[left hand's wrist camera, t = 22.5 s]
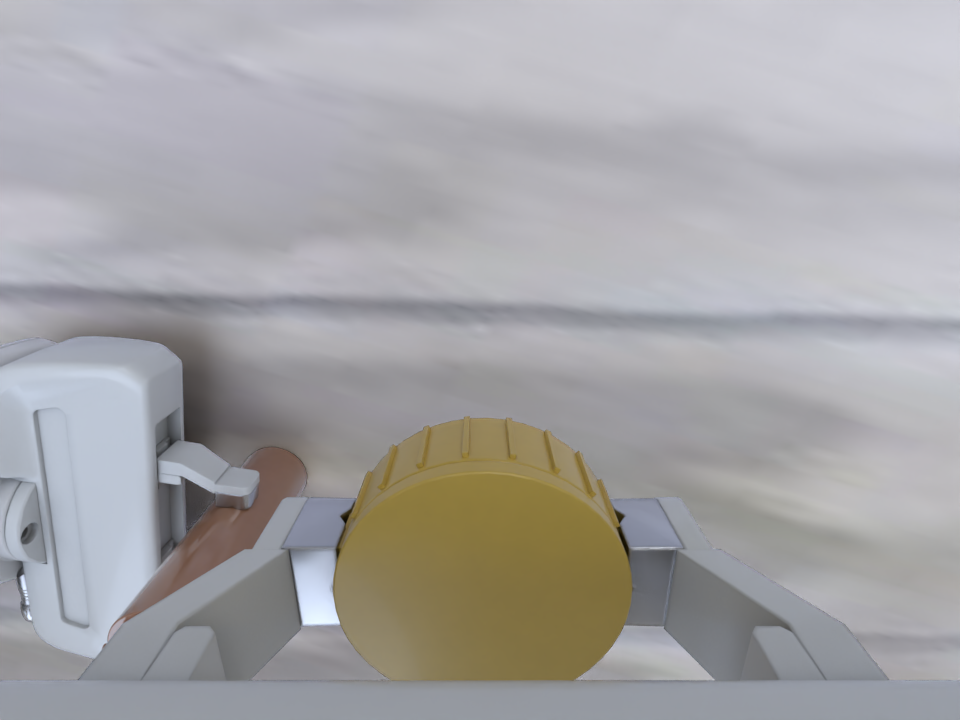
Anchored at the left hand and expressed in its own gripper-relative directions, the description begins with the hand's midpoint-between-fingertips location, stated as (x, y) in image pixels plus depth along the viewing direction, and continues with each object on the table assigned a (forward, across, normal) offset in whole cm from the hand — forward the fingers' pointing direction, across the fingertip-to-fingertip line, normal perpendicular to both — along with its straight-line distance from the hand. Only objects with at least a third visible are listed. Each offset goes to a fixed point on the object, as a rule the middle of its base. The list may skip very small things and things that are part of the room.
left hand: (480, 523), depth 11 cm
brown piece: (+21, +14, +12) cm, 28 cm away
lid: (-2, 0, 0) cm, 2 cm away
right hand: (+15, +13, +12) cm, 24 cm away
